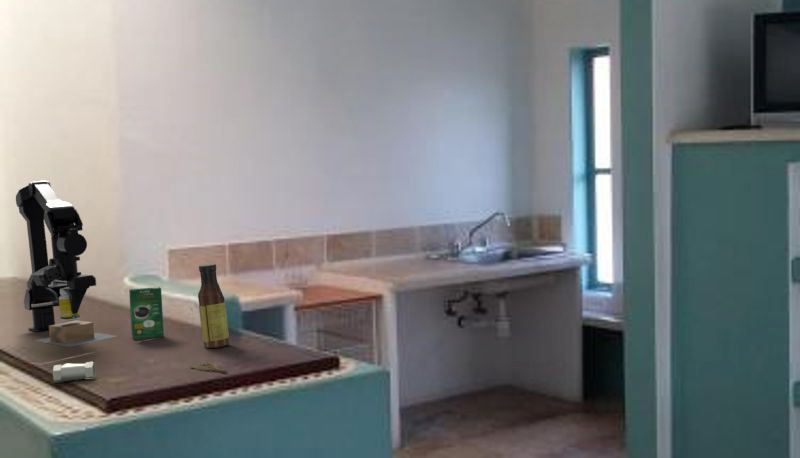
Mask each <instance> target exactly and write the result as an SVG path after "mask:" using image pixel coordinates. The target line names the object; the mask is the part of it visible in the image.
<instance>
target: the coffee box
mask: <svg viewBox="0 0 800 458" xmlns="http://www.w3.org/2000/svg"><path fill="white" fill-rule="evenodd" d="M128 292H129V308H130V311H129V312H130V325H131V326H130V327H131V338H132V340H140V339H141V340H143V339H151V338H152V339H159V338H164V337H165V330H164V316H163V313H164V312H163V298H162V288H161V287H160V286H157V287H156V286H155V287H145V288H143V287H142V288H130V289H129V290H128Z"/></svg>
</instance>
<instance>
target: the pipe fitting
mask: <svg viewBox="0 0 800 458" xmlns="http://www.w3.org/2000/svg"><path fill="white" fill-rule="evenodd" d="M94 376H95V377H96V364H95V362H93V361H86V362H85V363H68V362H66V363H63V364H56V365H55V364H54V365H53V368H52V379H53V383H54V384H59V383H60V384H61V383H64V382H71V381H70V380H75V381H77V380H76V379H85V378H94ZM85 380H86V379H85Z"/></svg>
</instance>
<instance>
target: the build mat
mask: <svg viewBox="0 0 800 458" xmlns="http://www.w3.org/2000/svg"><path fill="white" fill-rule="evenodd" d="M116 337H118V335H113V334H107V333H101V332H94V338H90V339H85V340H80V341H76V342H71V343H60V342H54V341H50V336H49V337H46V338H40V339H35V340H33V342H38V343H45V344H49V345H56V346H62V347H68V348H71V347H75V346H81V345H84V344H85V345H86V344H89V343H93V342H98V341H103V340H108V339H111V338H116Z"/></svg>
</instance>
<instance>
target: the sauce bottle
mask: <svg viewBox="0 0 800 458" xmlns="http://www.w3.org/2000/svg"><path fill="white" fill-rule="evenodd" d="M198 271H199V273H200V289H199V291H198V293H197V299H198V311H199V320H200V328H201V335H202V337H201V338H202V342H203V346H204V348H206V349H218V348H223V347H226V346H228V345H229V342H230V339H229V337H230V334H229V325H228V316H227V308H226V299H225V296H224V294H223V291H222V290H221V287H220V285H219V282H218V278H217V265H216V263H206V264H200V265H198Z"/></svg>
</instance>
